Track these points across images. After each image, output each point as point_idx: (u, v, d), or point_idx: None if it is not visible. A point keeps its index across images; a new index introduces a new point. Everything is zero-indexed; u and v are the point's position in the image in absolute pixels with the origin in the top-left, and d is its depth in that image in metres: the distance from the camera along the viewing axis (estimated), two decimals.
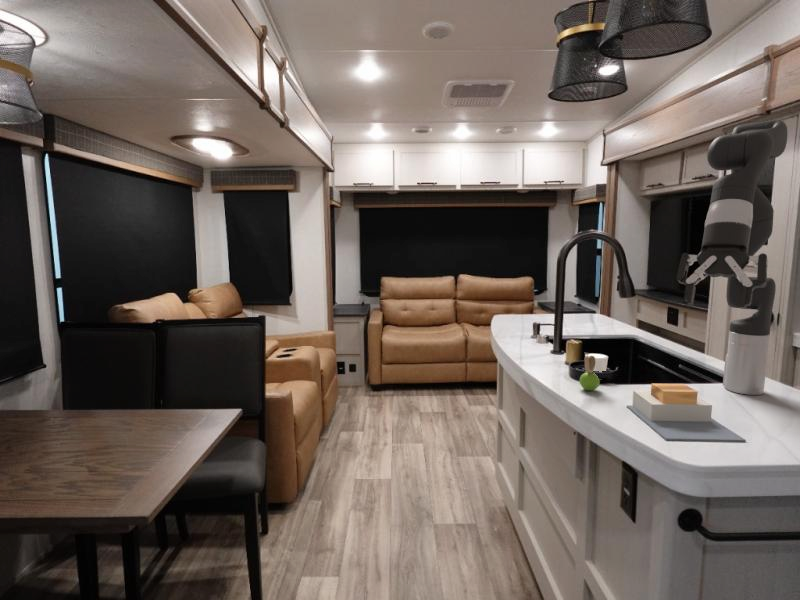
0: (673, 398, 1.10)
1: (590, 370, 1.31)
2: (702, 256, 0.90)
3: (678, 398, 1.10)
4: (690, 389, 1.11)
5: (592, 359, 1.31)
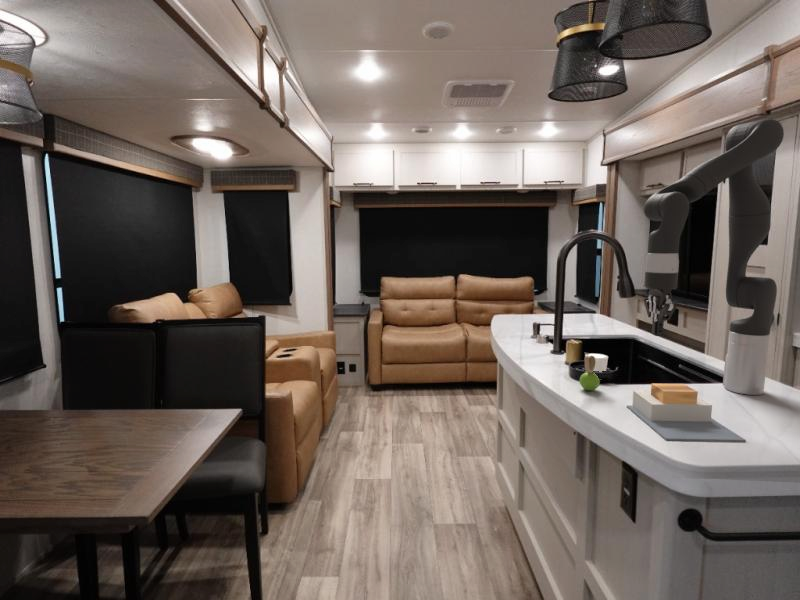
0: (673, 398, 1.10)
1: (590, 370, 1.31)
2: (649, 294, 1.22)
3: (678, 398, 1.10)
4: (690, 389, 1.11)
5: (592, 359, 1.31)
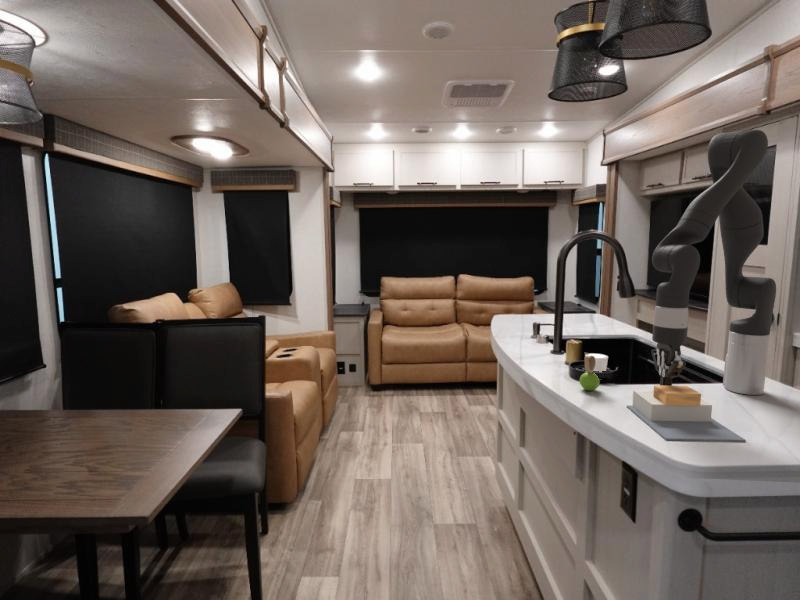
0: (676, 400, 1.08)
1: (590, 370, 1.31)
2: (657, 346, 1.18)
3: (681, 400, 1.08)
4: (693, 391, 1.09)
5: (592, 359, 1.31)
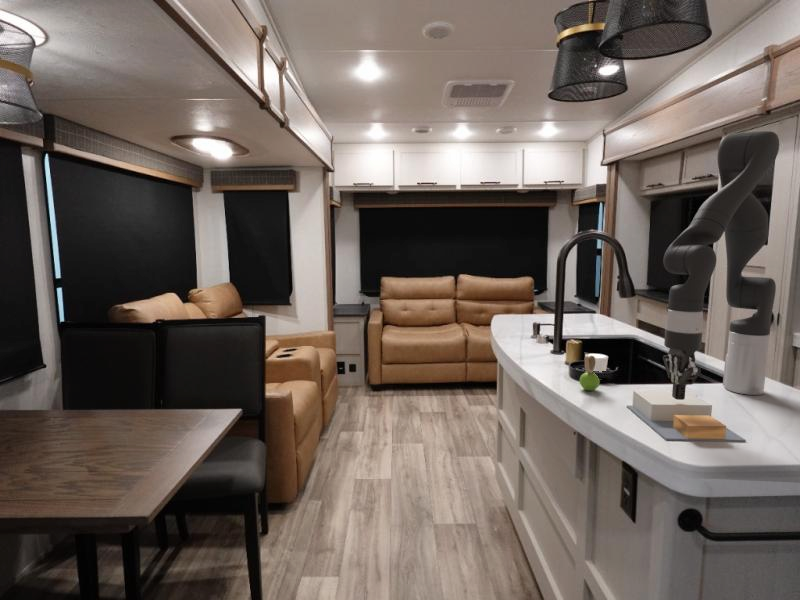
0: None
1: (590, 370, 1.31)
2: (669, 352, 1.12)
3: None
4: None
5: (592, 359, 1.31)
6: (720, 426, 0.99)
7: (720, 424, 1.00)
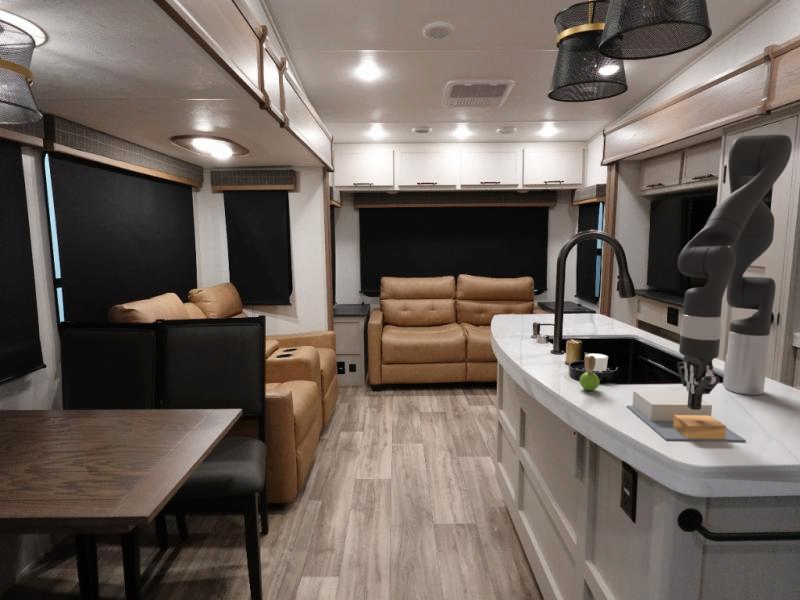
0: None
1: (590, 370, 1.31)
2: (684, 359, 1.05)
3: None
4: None
5: (592, 359, 1.31)
6: (720, 426, 0.99)
7: (720, 424, 1.00)
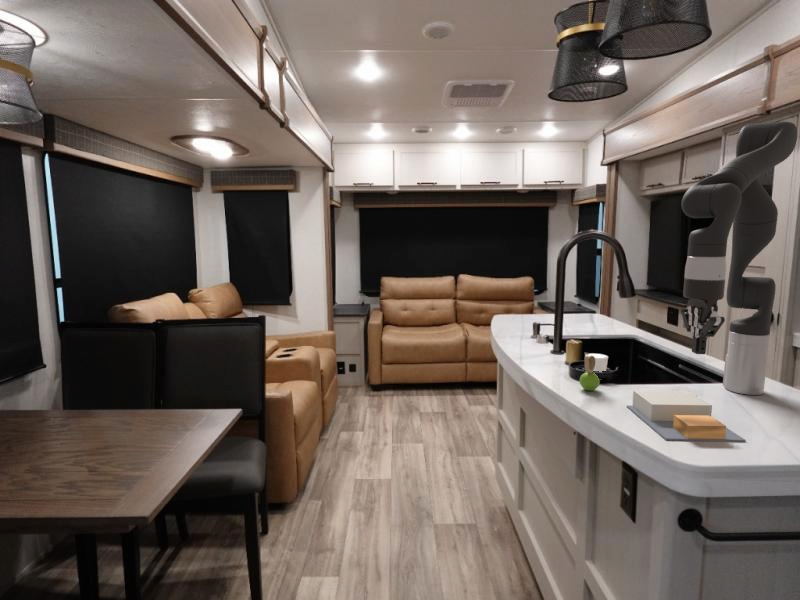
0: None
1: (590, 370, 1.31)
2: (688, 304, 1.04)
3: None
4: None
5: (592, 359, 1.31)
6: (720, 426, 0.99)
7: (720, 424, 1.00)
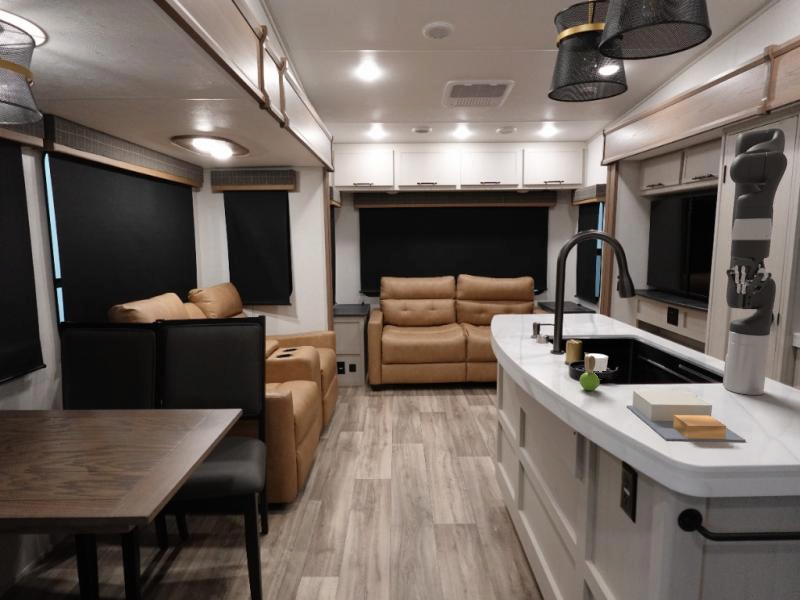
0: None
1: (590, 370, 1.31)
2: (735, 264, 1.13)
3: None
4: None
5: (592, 359, 1.31)
6: (720, 426, 0.99)
7: (720, 424, 1.00)
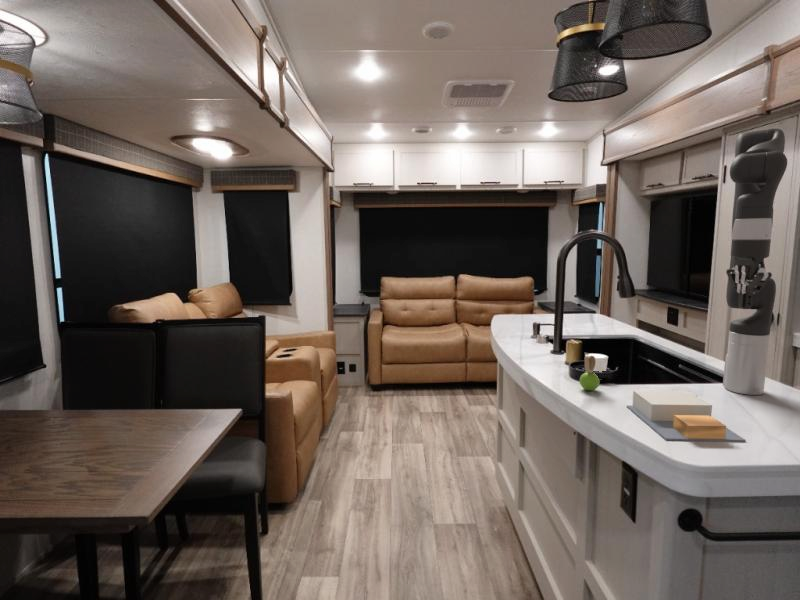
0: None
1: (590, 370, 1.31)
2: (735, 264, 1.13)
3: None
4: None
5: (592, 359, 1.31)
6: (720, 426, 0.99)
7: (720, 424, 1.00)
